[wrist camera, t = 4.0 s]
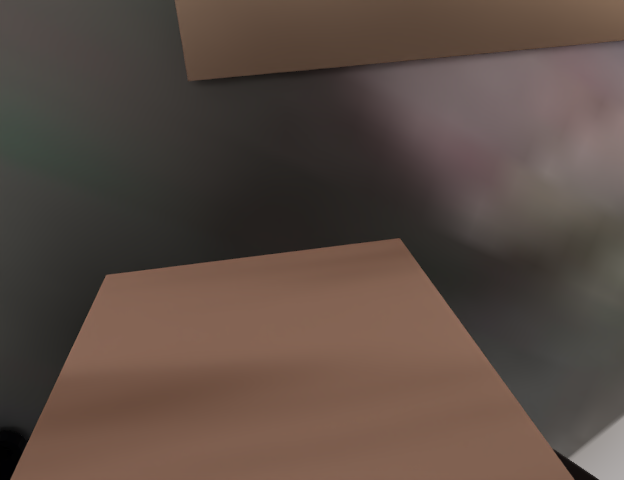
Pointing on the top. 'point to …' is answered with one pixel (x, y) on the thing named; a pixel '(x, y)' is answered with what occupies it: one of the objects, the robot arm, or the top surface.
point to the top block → (282, 379)
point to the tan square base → (377, 31)
